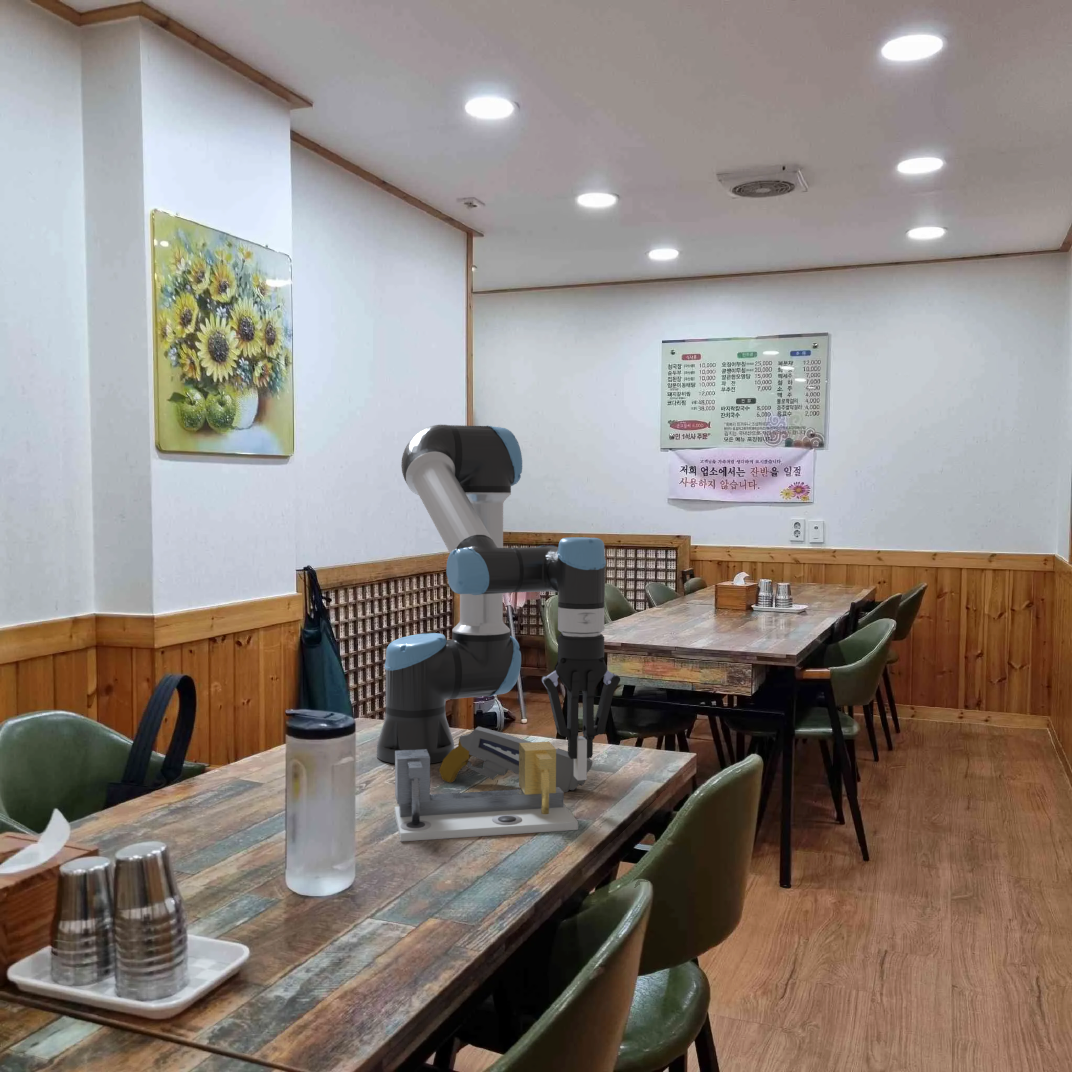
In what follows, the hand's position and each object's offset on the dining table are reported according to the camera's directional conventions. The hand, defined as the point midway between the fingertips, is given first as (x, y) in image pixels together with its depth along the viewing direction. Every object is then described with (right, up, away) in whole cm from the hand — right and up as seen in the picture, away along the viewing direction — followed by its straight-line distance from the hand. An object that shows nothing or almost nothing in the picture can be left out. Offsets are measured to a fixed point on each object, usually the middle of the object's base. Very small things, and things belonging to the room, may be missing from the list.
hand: (580, 777), depth 163 cm
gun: (-11, -5, +14) cm, 19 cm away
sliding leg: (-7, -4, -3) cm, 8 cm away
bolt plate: (-15, -6, -6) cm, 17 cm away
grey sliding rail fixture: (-16, -4, -5) cm, 17 cm away
